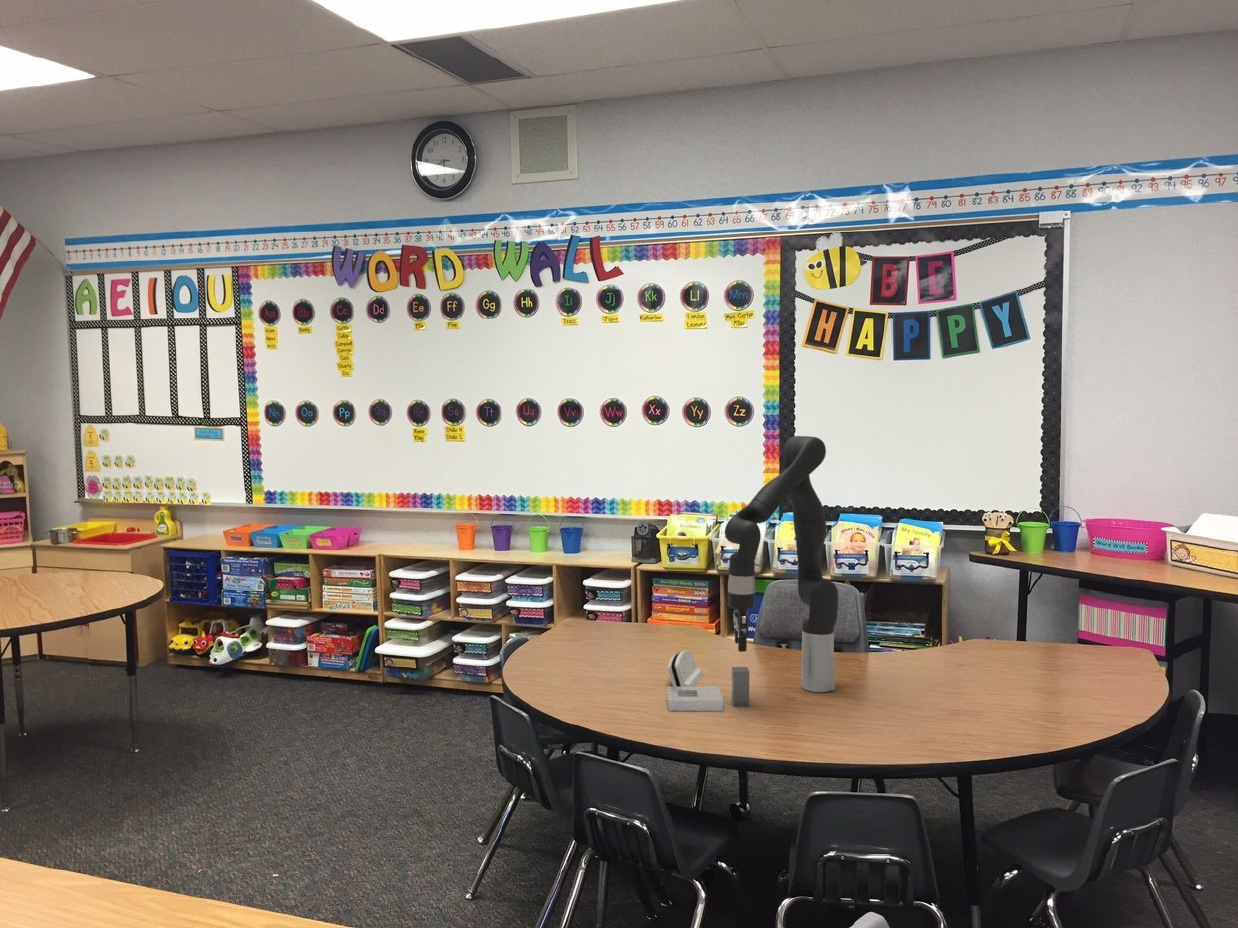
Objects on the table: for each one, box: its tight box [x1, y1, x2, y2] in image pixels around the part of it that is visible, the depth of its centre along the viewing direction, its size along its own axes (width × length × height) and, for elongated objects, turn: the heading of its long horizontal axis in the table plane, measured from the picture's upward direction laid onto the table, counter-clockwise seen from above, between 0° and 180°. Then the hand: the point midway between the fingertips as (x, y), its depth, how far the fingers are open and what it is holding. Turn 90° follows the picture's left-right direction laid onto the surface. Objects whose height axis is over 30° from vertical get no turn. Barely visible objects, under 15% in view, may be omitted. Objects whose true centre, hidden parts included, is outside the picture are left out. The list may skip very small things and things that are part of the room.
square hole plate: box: [666, 686, 724, 712], centre depth 267 cm, size 15×12×3 cm
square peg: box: [731, 666, 750, 708], centre depth 266 cm, size 4×4×10 cm
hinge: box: [667, 650, 704, 687], centre depth 286 cm, size 17×5×10 cm, turn 161°
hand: (740, 647), depth 265 cm, fingers open, 8 cm apart
